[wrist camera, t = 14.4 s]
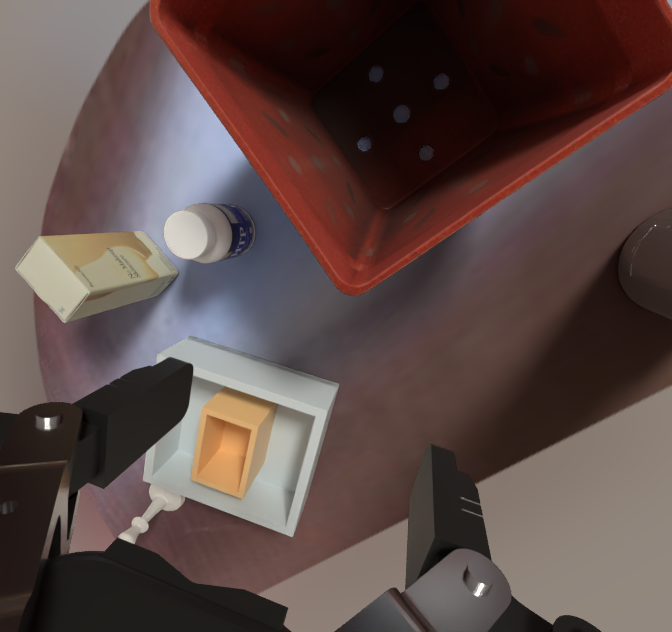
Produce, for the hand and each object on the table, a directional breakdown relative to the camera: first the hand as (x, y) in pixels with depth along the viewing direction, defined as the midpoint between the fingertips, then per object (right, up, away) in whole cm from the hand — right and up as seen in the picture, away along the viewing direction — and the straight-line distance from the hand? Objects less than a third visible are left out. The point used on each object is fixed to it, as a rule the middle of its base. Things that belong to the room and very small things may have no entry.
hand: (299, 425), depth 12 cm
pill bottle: (-10, +12, +28) cm, 32 cm away
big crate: (-9, -9, +33) cm, 35 cm away
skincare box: (-20, +10, +31) cm, 38 cm away
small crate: (-9, -9, +32) cm, 35 cm away
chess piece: (-21, -20, +39) cm, 49 cm away
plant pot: (+7, +21, +22) cm, 31 cm away
